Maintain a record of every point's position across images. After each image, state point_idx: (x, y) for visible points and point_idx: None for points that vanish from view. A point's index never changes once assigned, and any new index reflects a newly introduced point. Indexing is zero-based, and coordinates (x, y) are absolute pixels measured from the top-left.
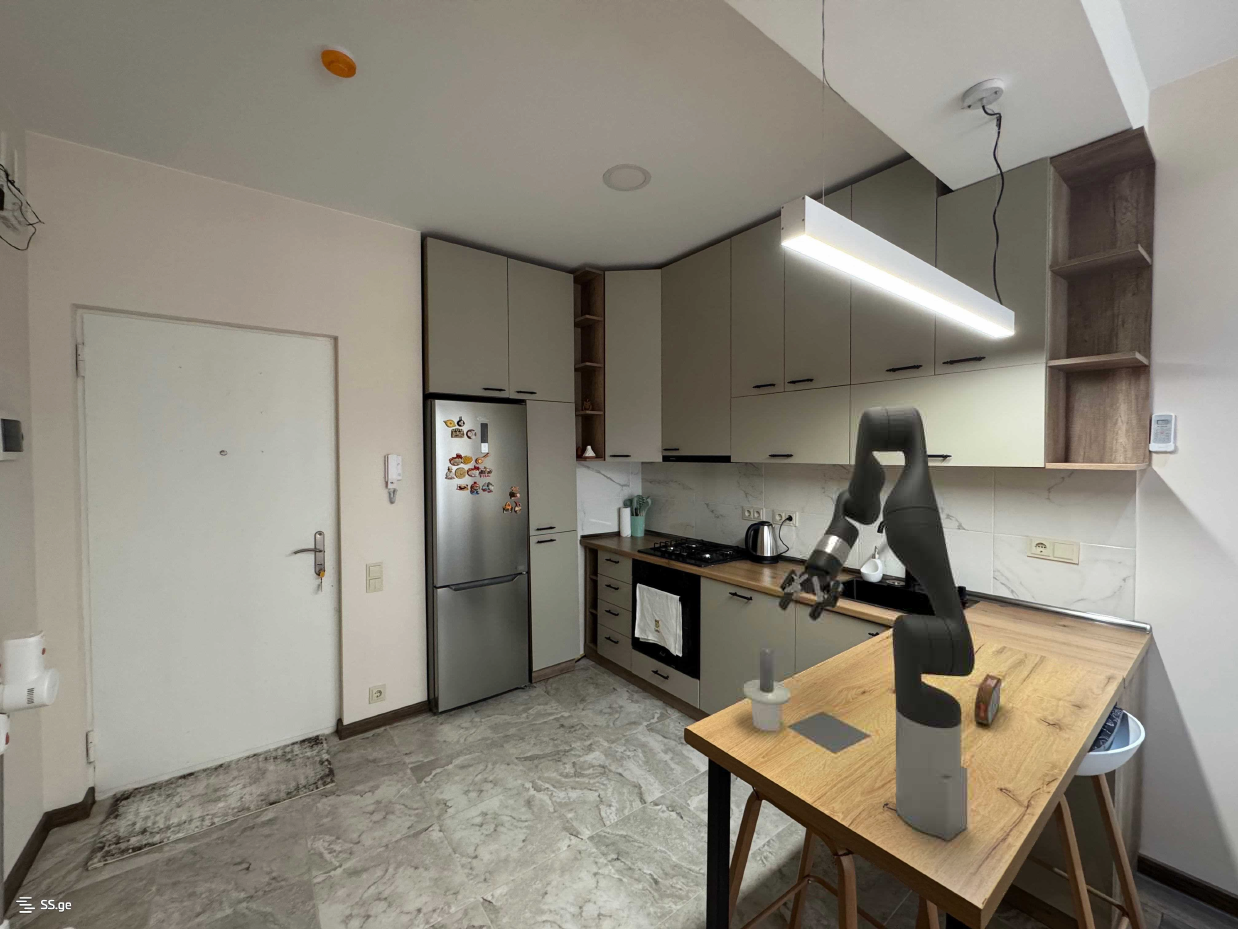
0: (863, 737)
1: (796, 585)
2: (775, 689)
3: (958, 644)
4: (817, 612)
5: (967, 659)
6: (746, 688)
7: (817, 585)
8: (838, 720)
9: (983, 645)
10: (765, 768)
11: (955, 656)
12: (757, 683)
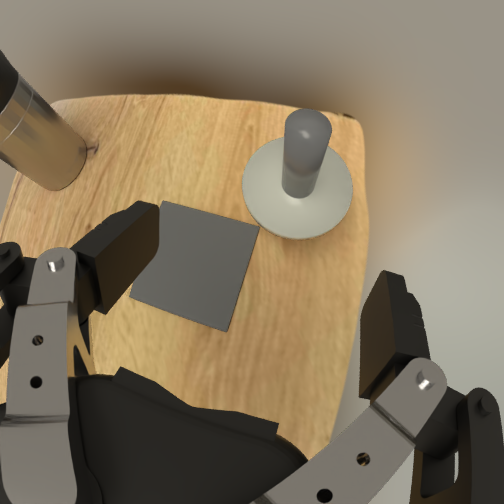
0: (136, 281)
1: (347, 428)
2: (282, 196)
3: None
4: (103, 222)
5: None
6: (335, 159)
7: (25, 370)
8: (188, 315)
9: None
10: (235, 109)
11: None
12: (331, 197)
